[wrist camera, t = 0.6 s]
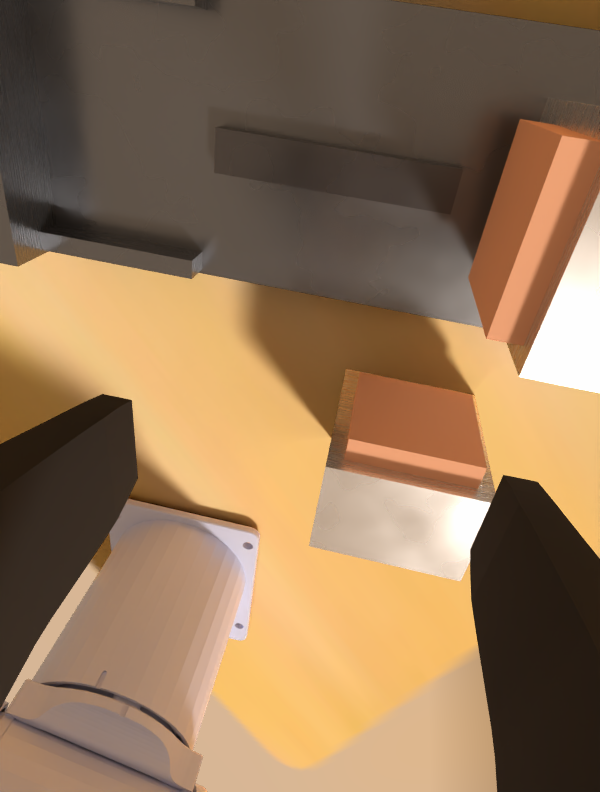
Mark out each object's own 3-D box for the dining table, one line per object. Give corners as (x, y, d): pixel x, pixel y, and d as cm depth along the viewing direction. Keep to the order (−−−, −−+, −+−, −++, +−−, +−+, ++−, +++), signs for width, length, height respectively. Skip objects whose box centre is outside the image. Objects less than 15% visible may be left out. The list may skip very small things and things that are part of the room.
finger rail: (774, 61, 13) (1094, 50, 7) (623, 340, 17) (737, 482, 11) (3, -51, 14) (-282, -139, 8) (45, 230, 19) (-123, 303, 13)
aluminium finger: (448, 463, 21) (460, 581, 16) (331, 438, 22) (309, 546, 17) (481, 376, 19) (507, 484, 14) (349, 350, 19) (329, 445, 14)
